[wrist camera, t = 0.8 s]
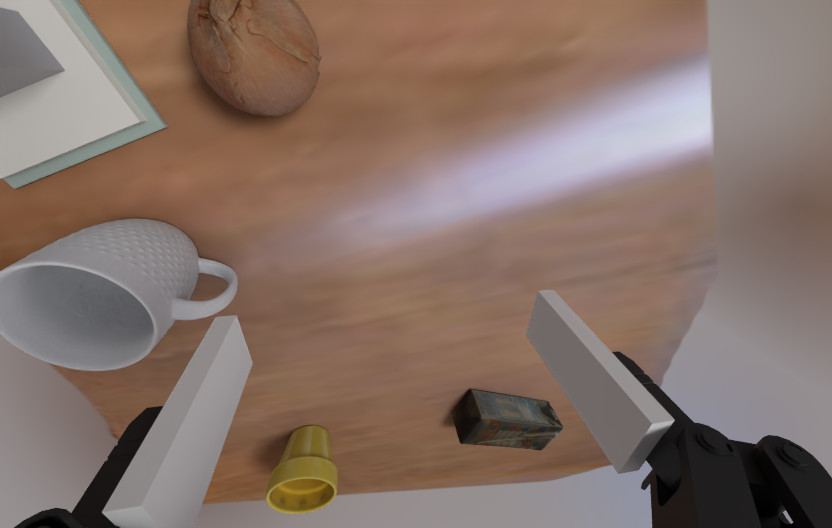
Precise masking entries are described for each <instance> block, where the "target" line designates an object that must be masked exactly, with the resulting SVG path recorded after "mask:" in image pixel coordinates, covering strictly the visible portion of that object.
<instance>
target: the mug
mask: <svg viewBox="0 0 832 528" xmlns="http://www.w3.org/2000/svg"><path fill="white" fill-rule="evenodd" d="M199 273H206V274H211V275H215V276H218V277H221V278H223V279H225V280H226V281H227V282H228V287H227V289H226V290H225V291H224V292H223V293H222V294H221V295H219V296H218V297H216V298H214V299H211V300H207V301H190V300H189V299H190V297H191V295H192V293H193V291H194V288H195V285H196V283H197V279H198V274H199ZM237 288H238V278H237V275H236V273H235V272H234V270H233V269H232V268H230V267H229V266H227V265H225V264H222V263H219V262H217V261H213V260H208V259H204V258H199V256H198V252H197V249H196V247H195V245H194V243H193V242H192V240H191V239H190V238H189V237H188V236H187V235H186V234H185V233H184V232H182V231H181V230H180V229H178V228H176V227H174V226H172V225H170V224H167V223H165V222H161V221H157V220H149V219H137V218H136V219H124V220H116V221H112V222H105V223H103V224H99V225H94V226H92V227H89V228H84V229H82V230H80V231H78V232H75V233H72V234H70V235H69V236H67V237H64V238H61V239H59V240H57V241H55V242H54V243H51V244H49V245H46V246H45V247H43V248H42V249H40V250H38V251H36V252H33V253H31V254H29V255H28V256H27V257H25V258H23V259H21V260H19V261H18V262H16V263H14V264H12V265H10V266H8V267H6V268H5V269H3V270H1V271H0V335H1V336H2V337H4V338H5V339H6V340H7V341H8V342H9V343H11V344H13V345H14V346H15V347H16V348H18V349H20V350H21V351H23V352H25V353H27V354H29V355H31V356H33V357H35V358H37V359H40V360H42V361H45V362H48V363H51V364H54V365H58V366H62V367H66V368H70V369H76V370H86V371H106V370H114V369H119V368H123V367H127V366H129V365H132V364H134V363H136V362H138V361H140V360H141V359H143V358H144V357H145V356H146V355H148V354H149V353H150V352H151V351H152V349H153V348H154V347H155V346H156V345H157V343H158V342H159V341H160V340H161V338H162V337H163V336H165V335H166V333H167V331H168V330H169V328H170V327H171V326H172V325H173V324H174V322H175V320H194V319H200V318H204V317H208V316H211V315H213V314H215V313H217V312H219V311H221V310H222V309H224V308H225V307H227V306H228V305H229V304H230V302H231V301H232V300H233V298H234V296H235V295H236V292H237Z"/></svg>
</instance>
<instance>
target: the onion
mask: <svg viewBox="0 0 832 528" xmlns="http://www.w3.org/2000/svg"><path fill="white" fill-rule="evenodd" d="M188 39H189V45H190V49H191V53H192V57H193V59H194V62H195V64H196V66H197V68H198V70H199V72H200V73H201V75H202V76H203V78H204V79H205V80H206V82H207V83H208V84H209V85H210V86H211V88H212V89H213V90H214V91H215V92H216V93H217V94H218V95H219V96H220V97H221V98H223V99H224V100H225V101H226V102H228V103H229V104H230V105H232V106H233V107H235V108H237V109H239V110H242V111H244V112H247V113H250V114H253V115H257V116H261V117H266V116H269V117H274V116H282V115H286V114H288V113H290V112H292V111H294V110H295V109H297V108H299V107H300V106H302V105H303V104H304V103H305V102H306V101H307V100H308V99H309V98H310V96H311V95H312V93H313V91H314V89H315V87H316V83H317V81H318V78H319V75H320V71H319V62H320V60H321V57H322V56H321V57H319V46H318V42H317V38H316V35H315V32H314V30H313V28H312V26H311V24H310V22H309V20H308V18H307V17H306V15H305V14H304V12H303V11H302V10H301V8H300V7H299V5H298V4H297V3H296V2H295V1H294V0H191V3H190V6H189V11H188Z"/></svg>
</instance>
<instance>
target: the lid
mask: <svg viewBox="0 0 832 528" xmlns="http://www.w3.org/2000/svg"><path fill="white" fill-rule="evenodd" d="M145 121H148V120H147V119H146V117H145V116H144V115H143V113H142V112H141V111H140V109H139V108H138V106H137V105H136V104H135V102H134V101H133V100H132V98H131V97H130V96H129V94H128V93H127V92H126V90H125V89H124V87H123V86H122V85H121V83H120V82H119V81H118V79H117V78H116V77H115V75H114V74H113V73H112V71H111V70H110V69H109V67H108V66H107V64H106V63H105V62H104V60H103V59H102V58H101V56H100V55H99V54H98V52H97V51H96V50H95V48H94V47H93V45H92V44H91V43H90V41H89V40H88V39H87V37H86V36H85V35H84V33H83V32H82V31H81V29H80V28H79V27H78V25H77V24H76V22H75V21H74V20H73V18H72V17H71V16H70V14H69V13H68V12H67V10H66V9H65V8H64V6H63V5H62V3H61V2H60V1H59V0H0V178H5V177H9V176H13V175H15V174H18V173H20V172H23V171H25V170H28V169H30V168H33V167H35V166H37V165H40V164H42V163H45V162H47V161H50V160H52V159H55V158H57V157H60V156H62V155H64V154H67V153H69V152H72V151H74V150H77V149H79V148H82V147H84V146H86V145H89V144H91V143H94V142H96V141H99V140H101V139H104V138H106V137H109V136H111V135H113V134H116V133H118V132H121V131H123V130H126V129H128V128H131V127H133V126H135V125H138V124H140V123H143V122H145Z"/></svg>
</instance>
